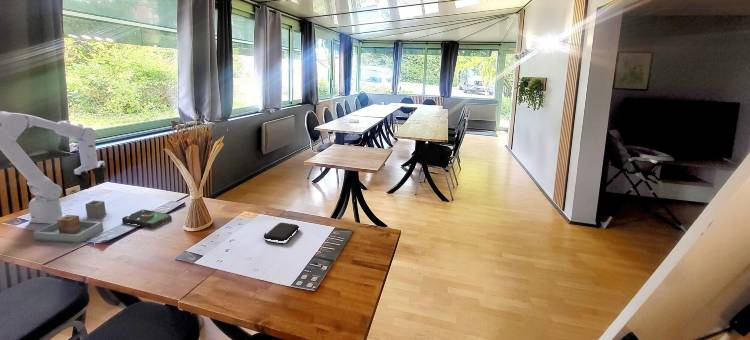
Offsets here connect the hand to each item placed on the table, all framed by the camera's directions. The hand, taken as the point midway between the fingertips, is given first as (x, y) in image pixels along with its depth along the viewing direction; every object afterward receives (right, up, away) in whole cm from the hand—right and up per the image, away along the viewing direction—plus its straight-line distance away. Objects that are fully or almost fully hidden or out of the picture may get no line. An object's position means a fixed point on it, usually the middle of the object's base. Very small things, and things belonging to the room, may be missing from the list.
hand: (92, 185), depth 166 cm
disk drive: (+29, -15, -9) cm, 33 cm away
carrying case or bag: (+85, -19, -15) cm, 88 cm away
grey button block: (+7, -12, -7) cm, 16 cm away
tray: (+9, -17, -24) cm, 31 cm away
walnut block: (+9, -16, -24) cm, 30 cm away
